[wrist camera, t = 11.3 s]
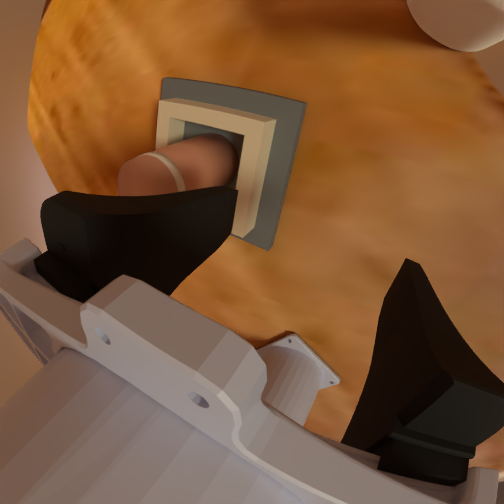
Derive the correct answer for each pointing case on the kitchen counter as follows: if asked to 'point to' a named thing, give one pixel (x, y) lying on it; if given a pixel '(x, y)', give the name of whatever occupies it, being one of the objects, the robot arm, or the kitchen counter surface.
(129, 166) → the tube
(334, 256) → the kitchen counter surface
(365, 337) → the kitchen counter surface
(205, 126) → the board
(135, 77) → the kitchen counter surface
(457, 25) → the can
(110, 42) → the kitchen counter surface
